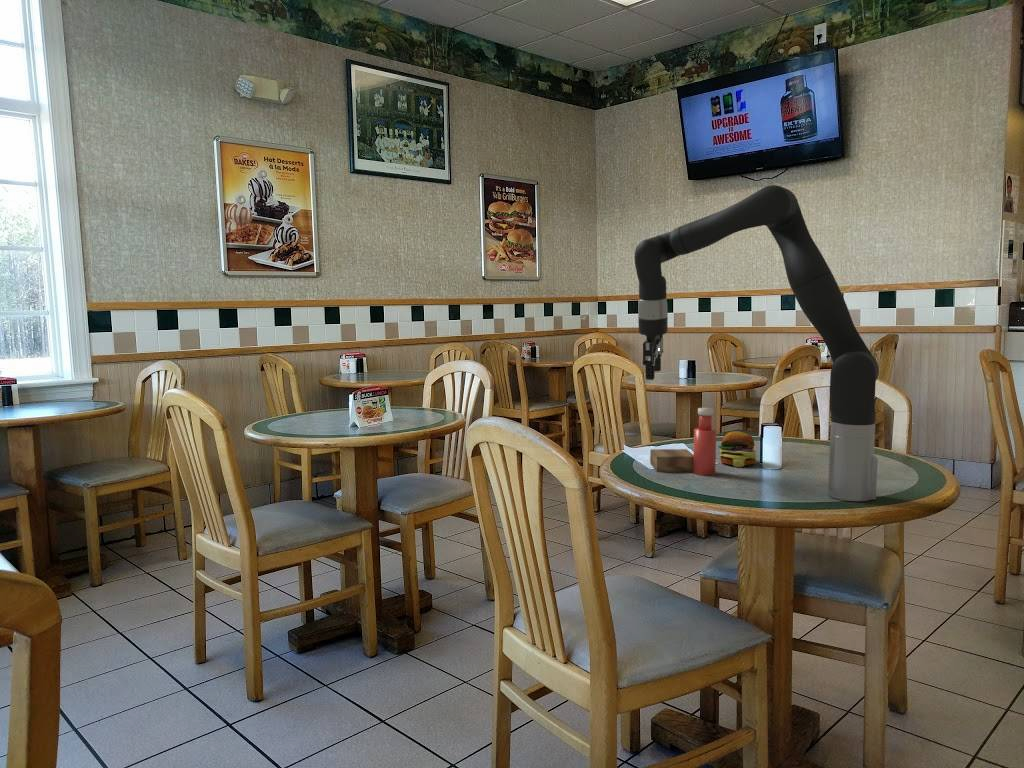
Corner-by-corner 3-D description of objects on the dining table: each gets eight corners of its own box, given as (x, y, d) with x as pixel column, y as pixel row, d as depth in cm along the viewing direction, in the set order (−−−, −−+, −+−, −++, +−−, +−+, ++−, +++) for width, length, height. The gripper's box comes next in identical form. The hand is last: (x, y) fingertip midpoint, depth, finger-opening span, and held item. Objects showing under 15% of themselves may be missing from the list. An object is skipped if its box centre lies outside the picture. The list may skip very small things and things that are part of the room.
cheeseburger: (719, 466, 204) (718, 429, 206) (717, 468, 215) (717, 433, 216) (758, 467, 202) (757, 430, 203) (755, 469, 212) (754, 433, 214)
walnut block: (686, 463, 209) (686, 449, 209) (694, 471, 199) (695, 456, 199) (650, 463, 209) (650, 449, 209) (656, 471, 199) (657, 456, 199)
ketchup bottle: (712, 470, 200) (713, 407, 198) (717, 475, 195) (719, 410, 193) (691, 470, 200) (692, 407, 198) (696, 475, 195) (697, 410, 193)
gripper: (661, 321, 189) (662, 383, 194) (672, 310, 202) (672, 368, 207) (632, 320, 192) (633, 381, 197) (644, 309, 205) (645, 367, 209)
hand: (653, 375), depth 202 cm, fingers open, 8 cm apart
